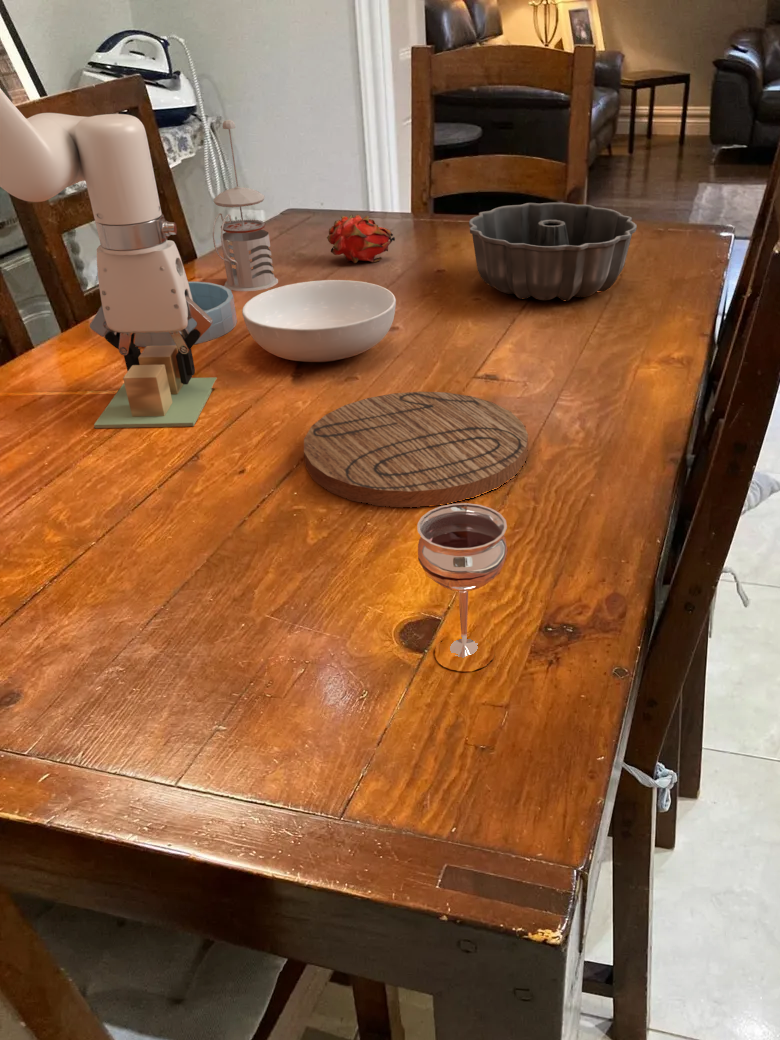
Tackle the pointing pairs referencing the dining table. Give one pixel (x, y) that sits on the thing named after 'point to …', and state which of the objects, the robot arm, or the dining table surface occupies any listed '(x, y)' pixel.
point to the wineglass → (462, 554)
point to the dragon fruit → (359, 238)
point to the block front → (148, 390)
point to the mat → (178, 415)
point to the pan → (212, 302)
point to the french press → (244, 240)
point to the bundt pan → (551, 249)
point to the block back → (164, 363)
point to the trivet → (415, 449)
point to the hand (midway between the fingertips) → (163, 379)
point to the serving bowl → (320, 319)
